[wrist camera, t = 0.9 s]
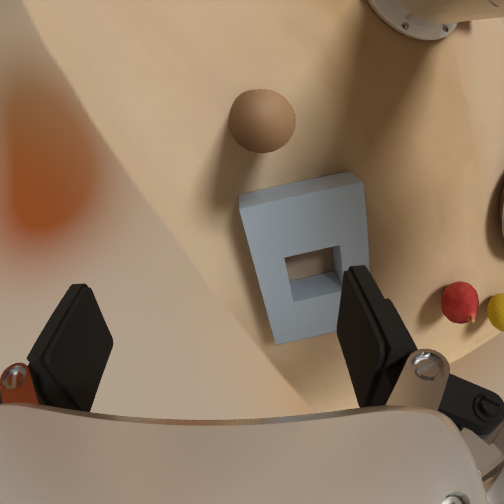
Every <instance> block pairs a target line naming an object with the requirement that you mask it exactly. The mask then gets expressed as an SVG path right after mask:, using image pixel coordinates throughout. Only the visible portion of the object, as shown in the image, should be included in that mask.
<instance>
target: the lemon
mask: <svg viewBox="0 0 504 504" xmlns="http://www.w3.org/2000/svg"><path fill="white" fill-rule="evenodd" d="M487 315H488V318H489V320H490V322H491V323H492V324H493V326H495V327H496V328H497V329H499V330H500V331H504V294H497V295H495V296H493V297H491V298H490V301H489V303H488V307H487Z"/></svg>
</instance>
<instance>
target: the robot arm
mask: <svg viewBox="0 0 504 504" xmlns="http://www.w3.org/2000/svg"><path fill="white" fill-rule="evenodd" d="M367 1H368V3H369V4H370V6H371V7H372V9H373V10H374V11H375V12H376V13H377V15H378V16H379V17H380V18H381V19H382V20H383V21H385V22H386V23H387V24H388V25H389V26H391V27H392V28H393V29H395V30H396V31H398V32H400V33H402V34H404V35H406V36H408V37H411V38H414V39H418V40H436V39H441V38H443V37H446V36H448V35H449V34H450V33H451V32H452V31H453V30H454V29H455V27H456V26H457V23H458V22H463V21H471V20H479V19H489V18H500V17H504V0H367ZM402 26H403V27H402ZM337 336H338V339H339V342H340V345H341V348H342V351H343V355H344V358H345V361H346V364H347V368H348V371H349V374H350V377H351V381H352V384H353V387H354V391H355V394H356V398H357V401H358V404H359V407H360V408H355V409H347V410H340V411H333V412H325V413H316V414H307V415H297V416H286V417H275V418H261V419H239V420H172V419H152V418H138V417H125V416H116V415H107V414H99V413H91V412H90V410H91V407H92V404H93V401H94V398H95V395H96V392H97V389H98V386H99V383H100V380H101V378H102V374H103V372H104V369H105V366H106V364H107V361H108V358H109V355H110V353H111V350H112V347H113V338H112V336H111V334H110V331H109V329H108V327H107V325H106V322H105V320H104V318H103V316H102V313H101V311H100V308H99V306H98V304H97V301H96V299H95V296H94V294H93V291H92V289H91V288H89V287H88V286H87V285H86V284H72V285H71V286H70V287H69V289H68V291H67V292H66V294H65V295H64V297H63V298H62V300H61V301H60V303H59V304H58V306H57V308H56V309H55V311H54V312H53V314H52V315H51V317H50V319H49V320H48V322H47V324H46V325H45V327H44V329H43V330H42V332H41V334H40V335H39V337H38V339H37V341H36V342H35V344H34V346H33V348H32V350H31V351H30V353H29V355H28V357H27V359H28V361H29V362H30V363H29V365H28V366H27V365H26V364H24V363H15V364H12V365H11V366H9V367H7V369H5V370H4V372H3V373H2V375H1V377H0V504H504V402H503V400H502V399H501V398H500V397H499V395H497V394H496V393H494V392H492V391H490V390H487V389H485V388H483V387H480V386H478V385H475V384H473V383H471V382H468V381H466V380H463V379H461V378H459V377H457V376H455V375H452V374H450V367H449V363H448V361H447V360H446V358H445V357H444V356H443V355H442V354H441V353H439V352H437V351H435V350H431V349H420V350H418V349H417V347H416V345H415V343H414V341H413V339H412V338H411V336H410V334H409V332H408V330H407V328H406V326H405V325H404V323H403V321H402V319H401V317H400V315H399V314H398V312H397V310H396V308H395V307H394V305H393V303H392V302H391V300H390V299H388V298H387V299H385V298H384V297H383V295H382V293H381V291H380V289H379V288H378V286H377V284H376V282H375V281H374V279H373V277H372V275H371V274H370V272H369V270H368V269H367V267H366V266H365V265H358V266H350V267H349V268H348V270H347V271H344V273H343V281H342V289H341V298H340V306H339V313H338V321H337ZM478 470H479V471H480V473H481V476H482V478H481V476H480V473H479V471H478Z"/></svg>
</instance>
